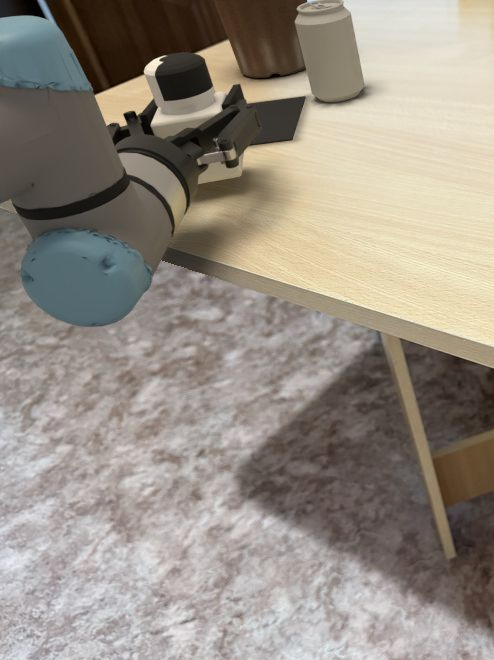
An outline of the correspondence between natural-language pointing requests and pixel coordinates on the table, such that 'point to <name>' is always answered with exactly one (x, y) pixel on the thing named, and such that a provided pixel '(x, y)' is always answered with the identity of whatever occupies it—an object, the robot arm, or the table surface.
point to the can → (329, 50)
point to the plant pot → (263, 35)
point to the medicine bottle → (186, 102)
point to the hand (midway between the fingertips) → (202, 101)
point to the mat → (277, 119)
